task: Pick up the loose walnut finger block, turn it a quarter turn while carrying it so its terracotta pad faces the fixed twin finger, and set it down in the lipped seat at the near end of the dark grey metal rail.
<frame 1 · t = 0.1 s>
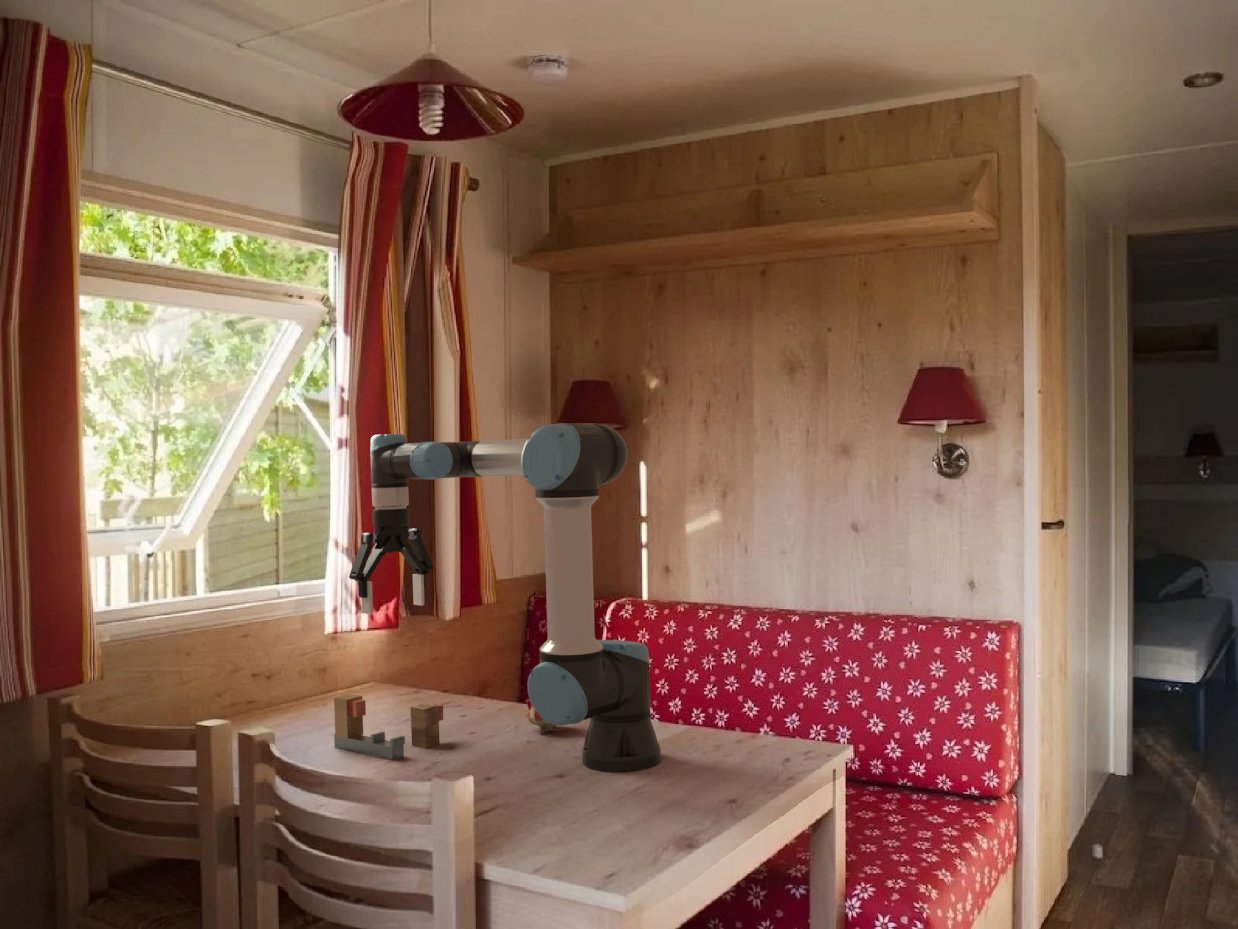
hand: (393, 609, 232), 28 cm above the table, fingers open, 13 cm apart
walnut finger: (425, 744, 229), on the table
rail: (368, 751, 225), on the table
flower: (546, 732, 237), on the table
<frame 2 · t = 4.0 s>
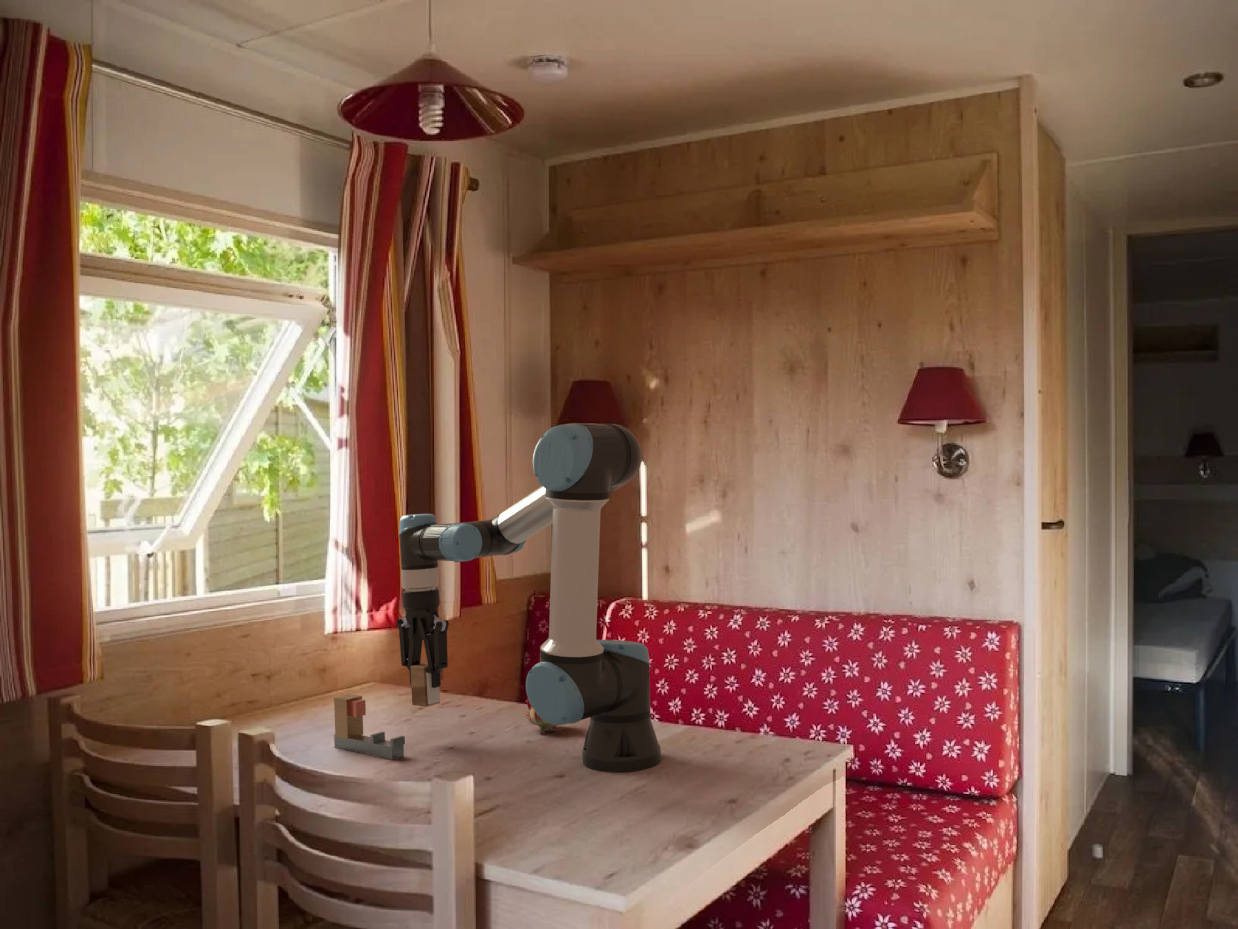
hand: (426, 702, 228), 9 cm above the table, fingers closed on walnut finger, 4 cm apart
walnut finger: (426, 704, 228), point 8 cm above the table, touching gripper
everything else where it was.
when the fingers open (2 cm above the table, at t = 7.1 s): walnut finger stays where it is, resting on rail.
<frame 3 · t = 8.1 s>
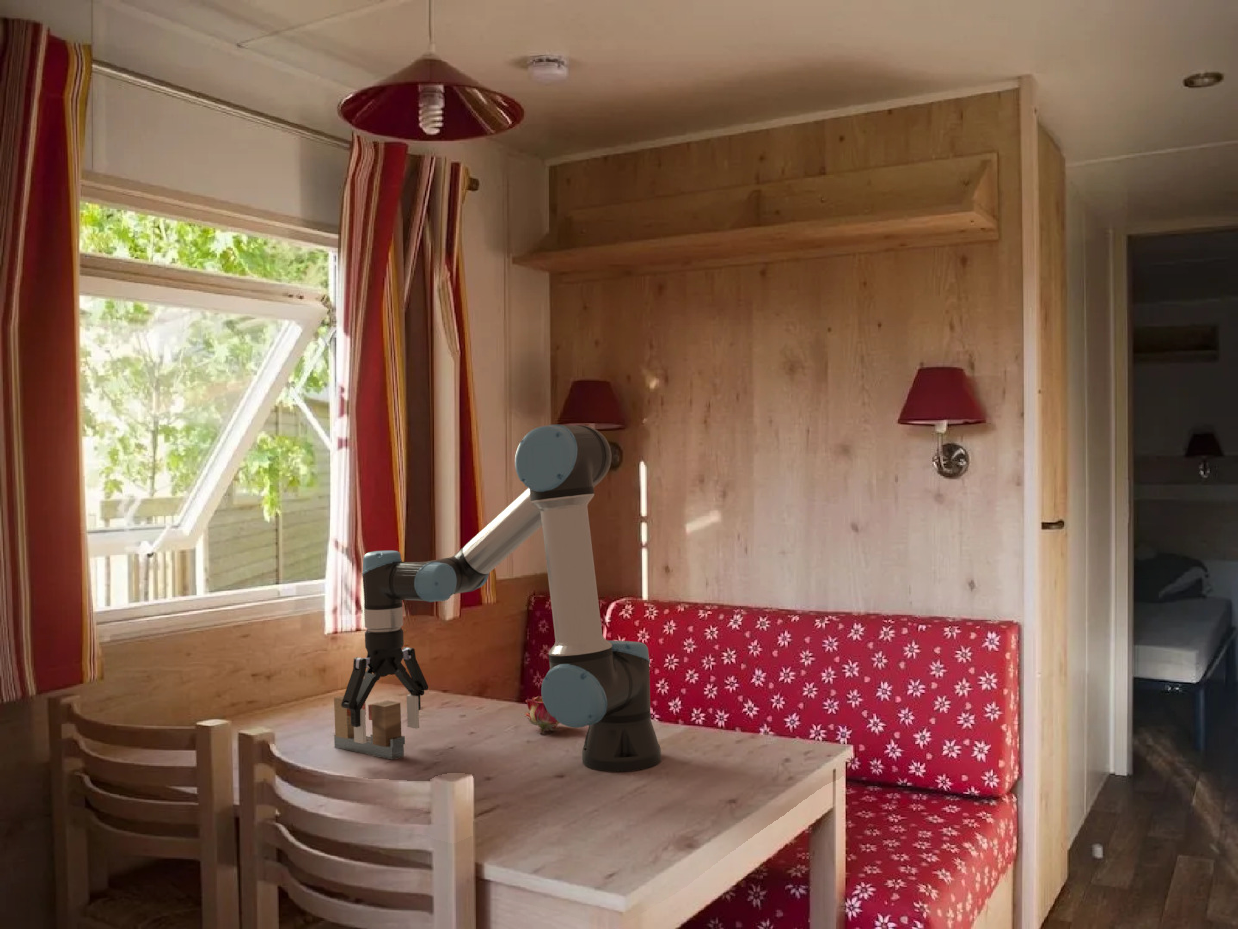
hand: (387, 735, 221), 4 cm above the table, fingers open, 13 cm apart
walnut finger: (387, 743, 221), point 2 cm above the table, touching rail
everything else where it was.
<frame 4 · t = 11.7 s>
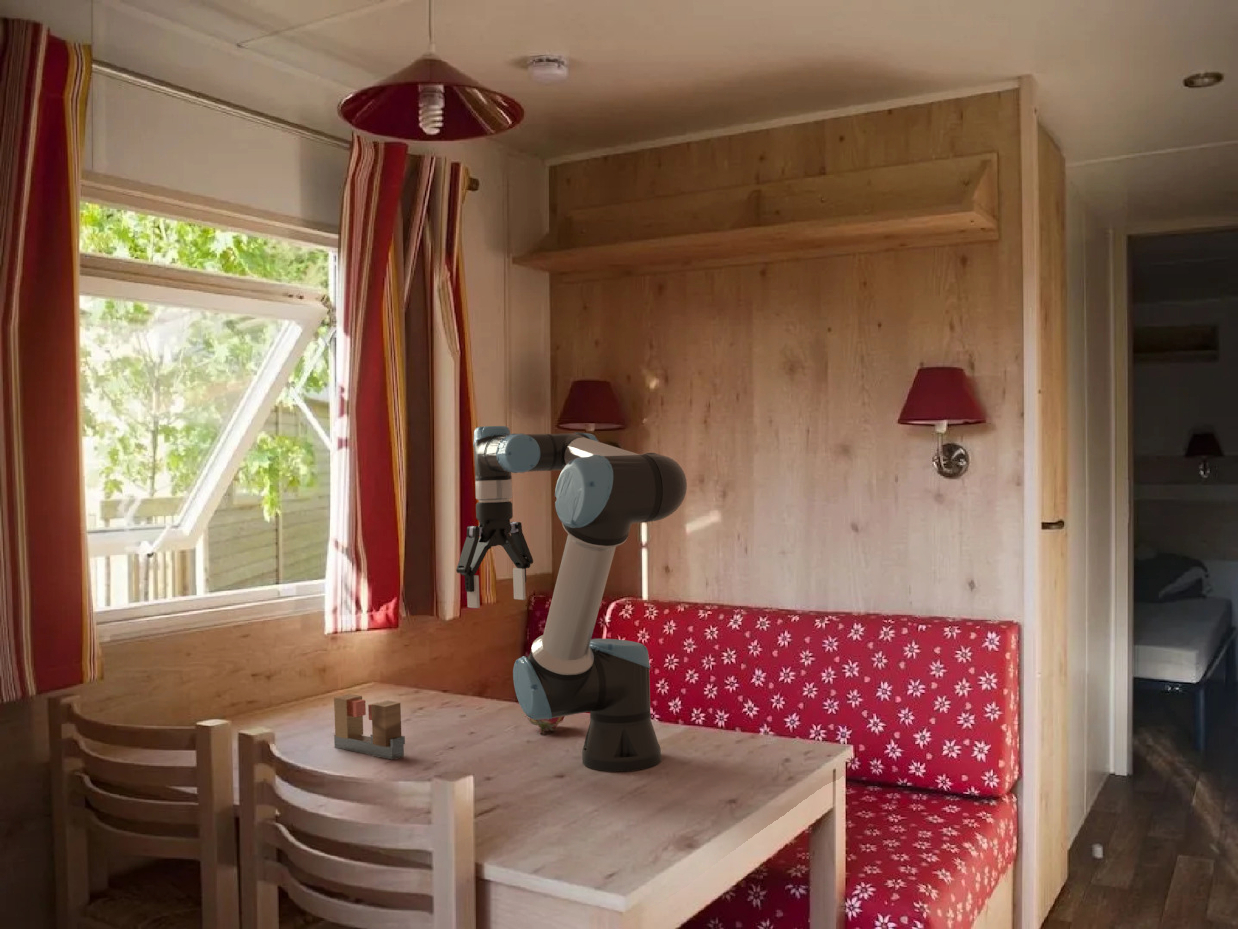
hand: (497, 603, 229), 29 cm above the table, fingers open, 13 cm apart
nothing on the table moved.
at the end: walnut finger 0.1 cm from the target spot on the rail, point 2.5 cm above the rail's base; walnut finger tilted 0°; the gripper is holding nothing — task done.
